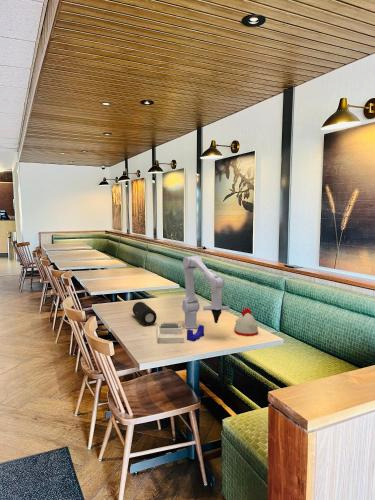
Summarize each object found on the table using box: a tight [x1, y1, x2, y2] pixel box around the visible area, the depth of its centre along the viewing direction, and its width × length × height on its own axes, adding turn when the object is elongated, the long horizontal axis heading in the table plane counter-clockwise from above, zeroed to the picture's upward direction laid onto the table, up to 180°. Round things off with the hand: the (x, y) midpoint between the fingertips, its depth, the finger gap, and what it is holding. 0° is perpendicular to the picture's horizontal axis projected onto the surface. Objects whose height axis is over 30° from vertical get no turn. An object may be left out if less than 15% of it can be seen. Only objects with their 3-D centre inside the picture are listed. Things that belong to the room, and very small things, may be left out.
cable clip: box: [186, 324, 205, 343], centre depth 203 cm, size 12×4×6 cm, turn 141°
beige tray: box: [157, 324, 185, 344], centre depth 205 cm, size 21×14×3 cm, turn 6°
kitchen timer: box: [233, 307, 259, 337], centre depth 214 cm, size 14×14×15 cm
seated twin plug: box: [160, 322, 179, 328], centre depth 212 cm, size 4×10×5 cm, turn 96°
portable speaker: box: [132, 301, 157, 326], centre depth 234 cm, size 26×10×10 cm, turn 24°
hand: (215, 322), depth 203 cm, fingers closed
